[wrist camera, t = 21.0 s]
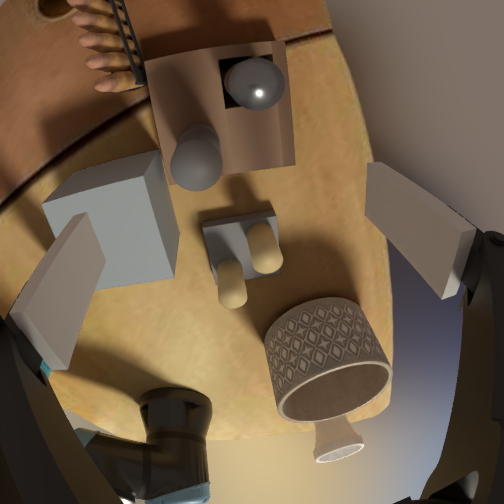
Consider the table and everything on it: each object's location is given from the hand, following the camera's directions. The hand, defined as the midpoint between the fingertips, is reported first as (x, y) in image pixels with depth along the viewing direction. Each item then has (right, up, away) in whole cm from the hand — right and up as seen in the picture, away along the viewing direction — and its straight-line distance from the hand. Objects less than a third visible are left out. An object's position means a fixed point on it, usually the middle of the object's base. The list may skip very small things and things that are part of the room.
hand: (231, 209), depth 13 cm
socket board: (-2, +12, +13) cm, 18 cm away
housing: (-13, +4, +17) cm, 22 cm away
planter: (+11, -14, +33) cm, 38 cm away
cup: (+18, -37, +50) cm, 65 cm away
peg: (0, +14, +12) cm, 19 cm away
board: (0, -1, +23) cm, 23 cm away
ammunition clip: (-11, +18, +8) cm, 23 cm away
